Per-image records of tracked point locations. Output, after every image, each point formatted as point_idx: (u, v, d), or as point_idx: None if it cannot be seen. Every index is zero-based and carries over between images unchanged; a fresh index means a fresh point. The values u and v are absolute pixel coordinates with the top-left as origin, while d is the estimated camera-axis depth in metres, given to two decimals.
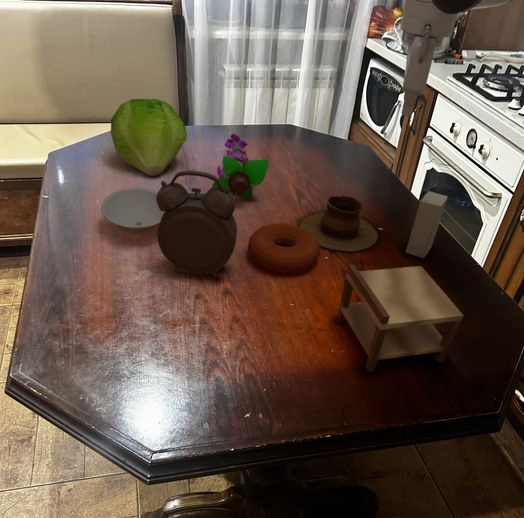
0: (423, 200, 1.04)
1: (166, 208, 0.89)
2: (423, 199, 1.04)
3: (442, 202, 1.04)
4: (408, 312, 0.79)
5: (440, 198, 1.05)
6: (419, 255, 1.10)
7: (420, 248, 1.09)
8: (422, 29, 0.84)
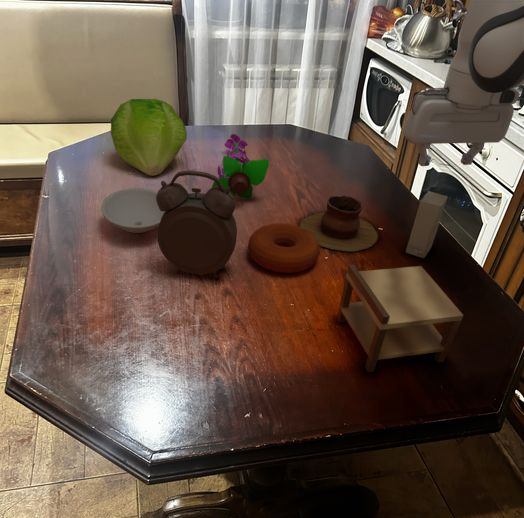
0: (423, 200, 1.04)
1: (166, 208, 0.89)
2: (423, 199, 1.04)
3: (442, 202, 1.04)
4: (408, 312, 0.79)
5: (440, 198, 1.05)
6: (419, 255, 1.10)
7: (420, 248, 1.09)
8: None
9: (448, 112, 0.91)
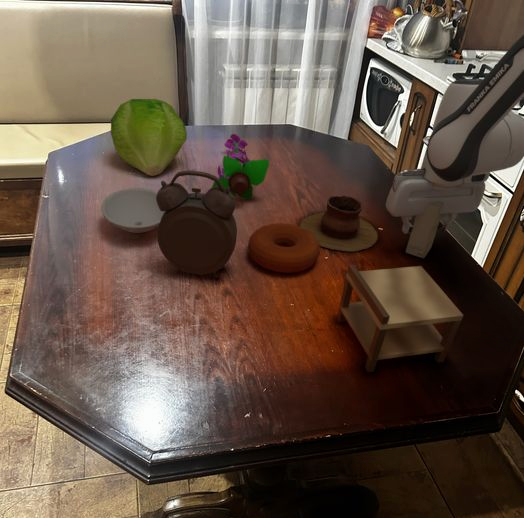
0: None
1: (166, 208, 0.89)
2: None
3: None
4: (408, 312, 0.79)
5: None
6: (419, 255, 1.10)
7: (420, 248, 1.09)
8: None
9: (425, 189, 1.01)
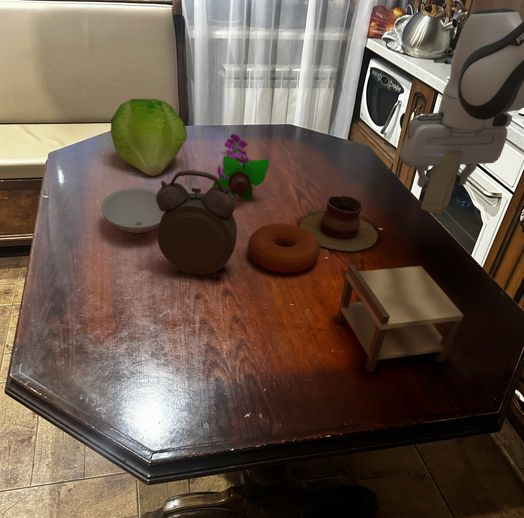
0: None
1: (166, 208, 0.89)
2: None
3: None
4: (408, 312, 0.79)
5: None
6: (436, 211, 1.03)
7: (436, 203, 1.02)
8: None
9: (443, 136, 0.94)
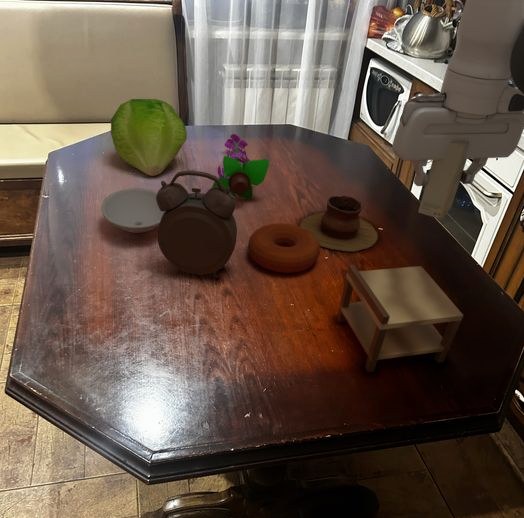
0: None
1: (166, 208, 0.89)
2: None
3: (467, 142, 0.78)
4: (408, 312, 0.79)
5: None
6: (436, 215, 0.85)
7: (437, 205, 0.84)
8: None
9: (446, 122, 0.75)
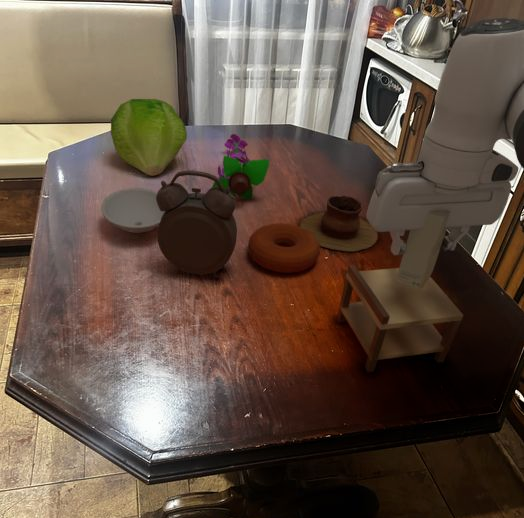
0: None
1: (166, 208, 0.89)
2: None
3: None
4: (408, 312, 0.79)
5: None
6: (415, 285, 0.78)
7: (416, 275, 0.77)
8: None
9: (424, 193, 0.69)
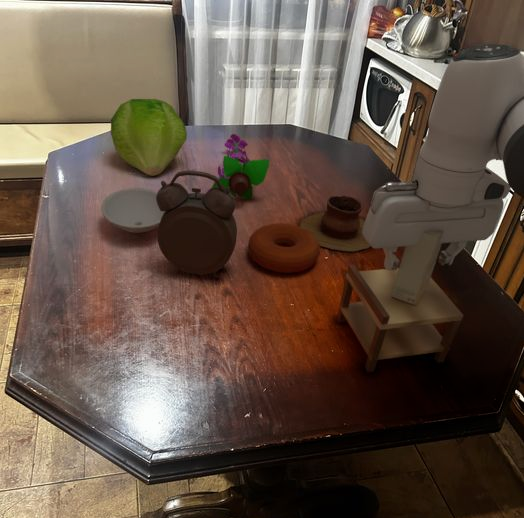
0: None
1: (166, 208, 0.89)
2: None
3: None
4: (408, 312, 0.79)
5: None
6: (410, 301, 0.80)
7: (411, 292, 0.79)
8: None
9: (418, 211, 0.70)
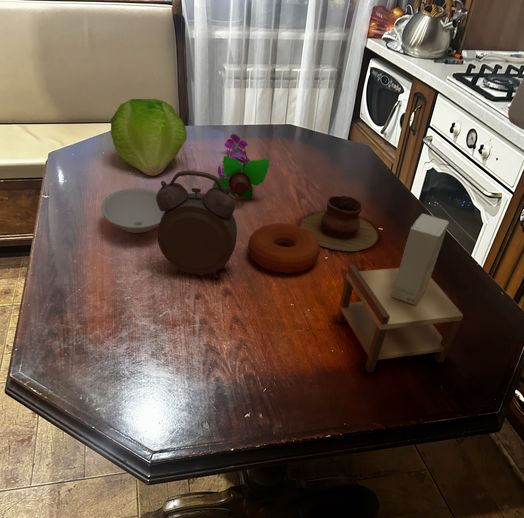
0: (415, 228, 0.74)
1: (166, 208, 0.89)
2: (415, 226, 0.74)
3: (441, 230, 0.74)
4: (408, 312, 0.79)
5: (438, 224, 0.75)
6: (410, 301, 0.80)
7: (411, 292, 0.79)
8: None
9: None
